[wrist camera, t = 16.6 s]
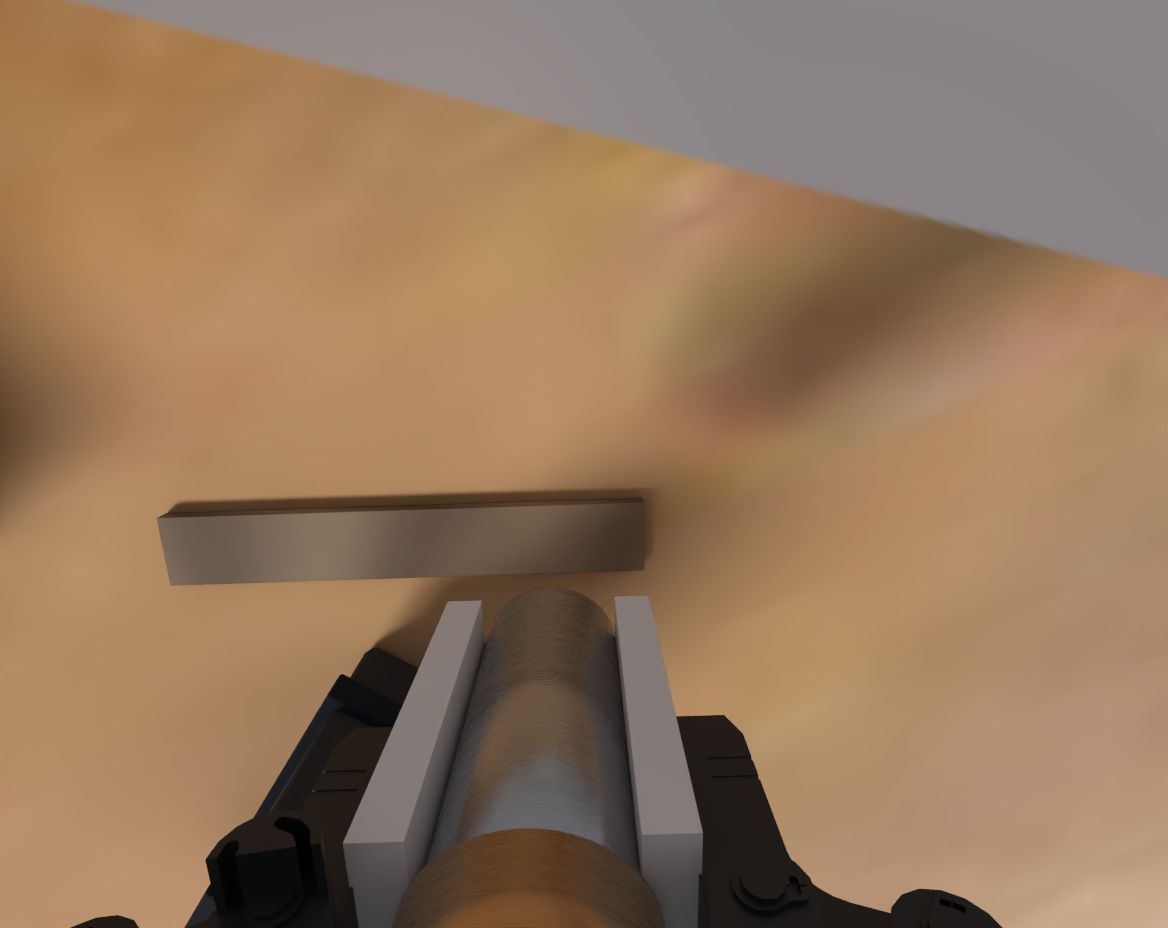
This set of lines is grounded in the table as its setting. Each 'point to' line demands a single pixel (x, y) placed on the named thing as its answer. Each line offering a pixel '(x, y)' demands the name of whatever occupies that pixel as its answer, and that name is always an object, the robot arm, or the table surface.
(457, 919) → the metal flashlight
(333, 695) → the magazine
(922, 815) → the table surface
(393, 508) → the strip
